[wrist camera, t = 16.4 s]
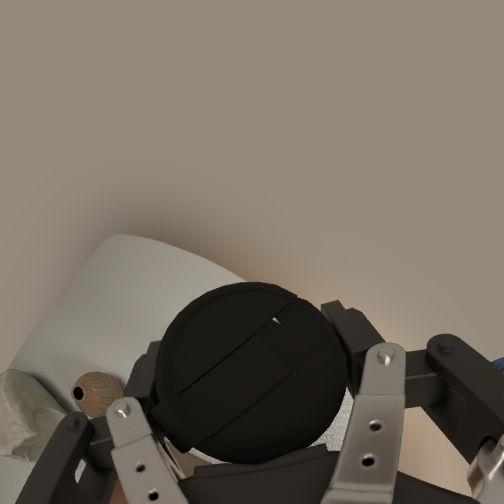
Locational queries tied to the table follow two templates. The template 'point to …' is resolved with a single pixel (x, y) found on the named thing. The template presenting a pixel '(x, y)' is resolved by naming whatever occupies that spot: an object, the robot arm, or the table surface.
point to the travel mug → (248, 374)
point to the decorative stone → (26, 416)
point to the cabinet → (184, 461)
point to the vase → (96, 393)
